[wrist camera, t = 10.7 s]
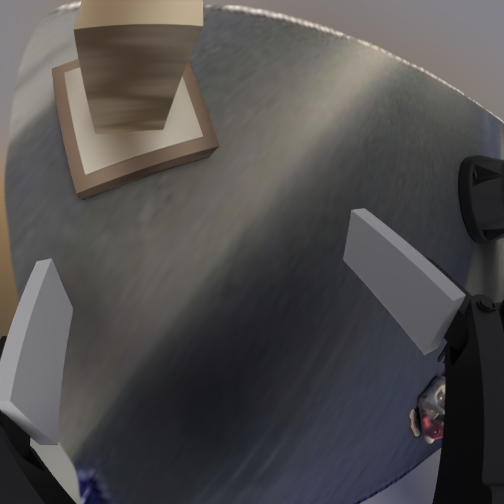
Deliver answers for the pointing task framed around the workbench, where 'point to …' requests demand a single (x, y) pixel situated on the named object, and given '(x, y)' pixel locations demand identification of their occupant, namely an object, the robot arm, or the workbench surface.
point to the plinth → (128, 136)
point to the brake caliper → (430, 411)
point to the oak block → (134, 59)
